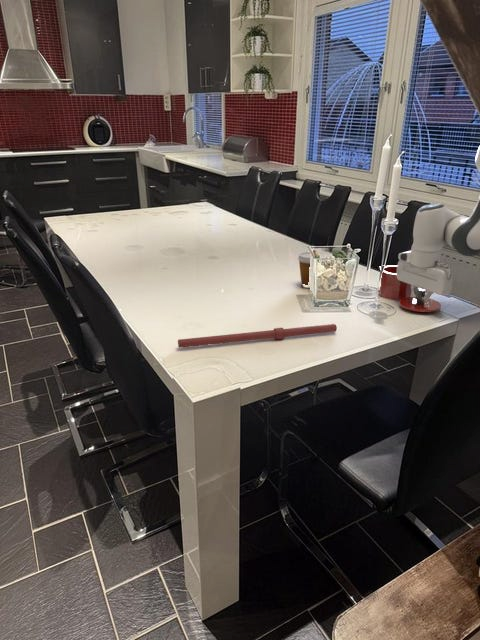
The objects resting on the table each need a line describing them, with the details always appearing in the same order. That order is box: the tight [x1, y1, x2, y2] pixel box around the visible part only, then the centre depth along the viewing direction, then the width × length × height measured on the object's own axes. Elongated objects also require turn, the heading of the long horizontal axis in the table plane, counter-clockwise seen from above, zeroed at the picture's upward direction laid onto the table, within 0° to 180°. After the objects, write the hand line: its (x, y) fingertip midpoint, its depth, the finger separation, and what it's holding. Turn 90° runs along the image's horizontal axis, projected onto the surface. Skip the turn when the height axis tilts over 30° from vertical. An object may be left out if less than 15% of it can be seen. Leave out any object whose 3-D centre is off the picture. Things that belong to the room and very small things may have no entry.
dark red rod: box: [177, 323, 338, 349], centre depth 129 cm, size 45×3×3 cm, turn 102°
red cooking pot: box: [378, 265, 413, 301], centre depth 161 cm, size 12×17×10 cm
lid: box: [398, 288, 442, 313], centre depth 149 cm, size 13×13×6 cm
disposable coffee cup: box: [297, 251, 311, 285], centre depth 174 cm, size 10×10×12 cm
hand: (420, 300), depth 149 cm, fingers closed on lid, 2 cm apart
